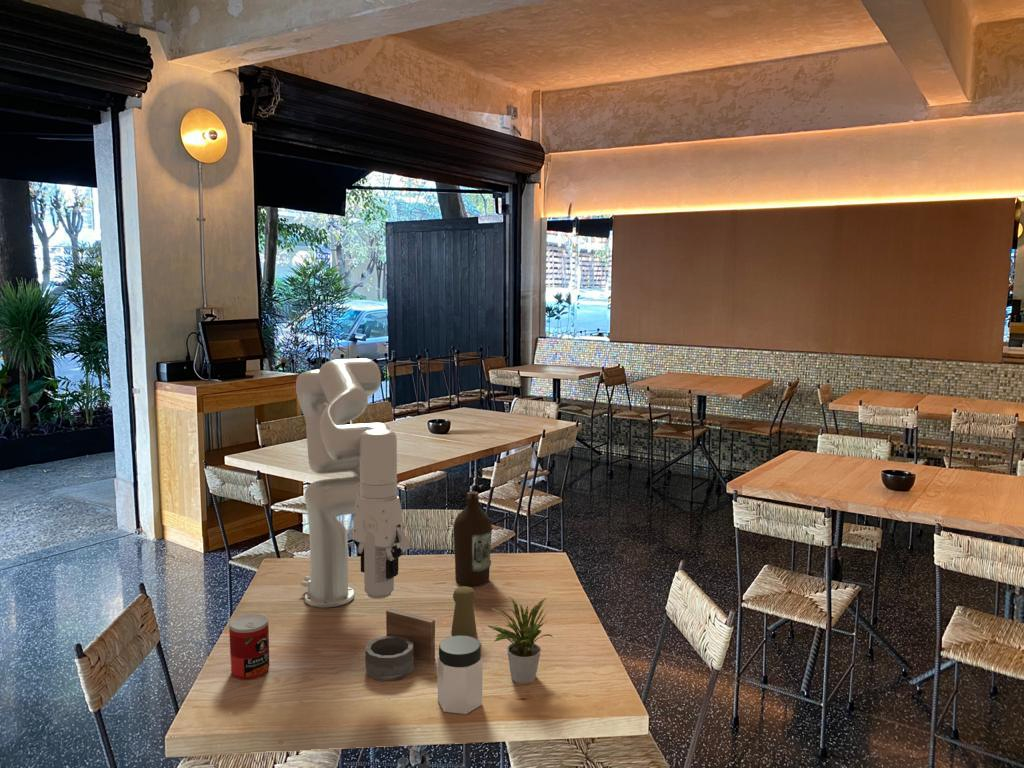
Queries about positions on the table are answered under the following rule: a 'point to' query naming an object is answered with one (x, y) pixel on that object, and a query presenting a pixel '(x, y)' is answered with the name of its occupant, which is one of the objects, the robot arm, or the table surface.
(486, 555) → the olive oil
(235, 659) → the canned food
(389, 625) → the cup bracket
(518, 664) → the house plant
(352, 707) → the table surface
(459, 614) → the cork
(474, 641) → the jar
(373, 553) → the energy drink can
